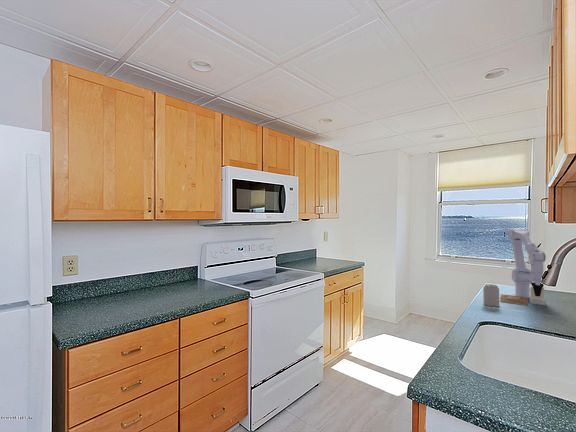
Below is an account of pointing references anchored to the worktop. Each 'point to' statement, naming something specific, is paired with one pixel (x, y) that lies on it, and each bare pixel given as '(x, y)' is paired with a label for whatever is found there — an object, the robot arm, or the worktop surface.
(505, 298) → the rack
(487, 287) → the can
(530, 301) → the stand
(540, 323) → the worktop surface
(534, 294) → the beige rectangular block
